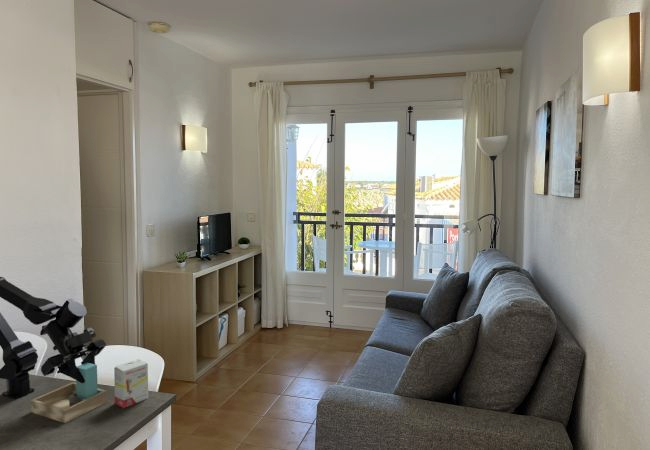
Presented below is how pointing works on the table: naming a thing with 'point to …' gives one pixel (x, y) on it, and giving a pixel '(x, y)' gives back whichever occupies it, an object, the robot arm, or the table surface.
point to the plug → (87, 381)
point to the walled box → (66, 403)
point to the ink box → (131, 383)
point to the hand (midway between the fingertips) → (90, 379)
